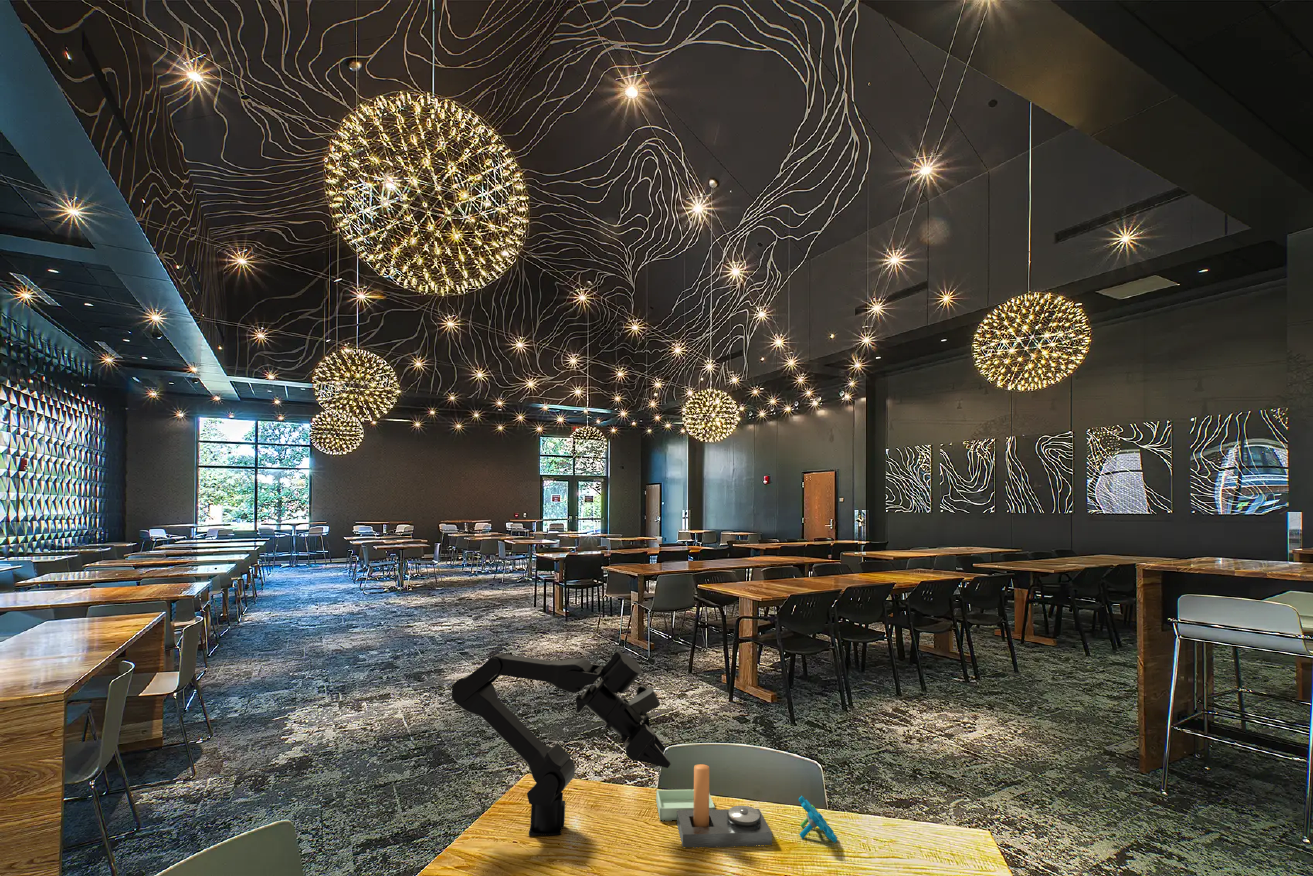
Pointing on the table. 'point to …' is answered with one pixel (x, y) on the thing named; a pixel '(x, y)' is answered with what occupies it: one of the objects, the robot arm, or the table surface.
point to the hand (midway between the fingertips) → (666, 757)
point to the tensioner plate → (725, 828)
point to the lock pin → (701, 796)
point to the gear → (814, 821)
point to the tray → (676, 803)
